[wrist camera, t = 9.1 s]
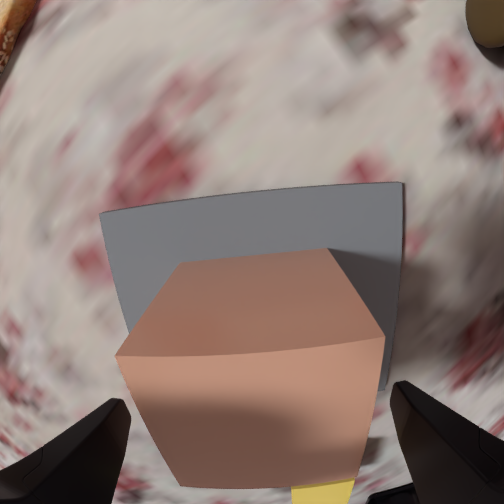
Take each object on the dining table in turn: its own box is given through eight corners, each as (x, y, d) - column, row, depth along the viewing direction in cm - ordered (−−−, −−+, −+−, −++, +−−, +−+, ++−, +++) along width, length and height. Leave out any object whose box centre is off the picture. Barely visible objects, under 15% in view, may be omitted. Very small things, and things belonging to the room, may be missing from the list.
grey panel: (397, 181, 13) (401, 182, 12) (382, 385, 16) (384, 390, 16) (103, 212, 14) (99, 213, 13) (158, 401, 17) (156, 406, 17)
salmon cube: (326, 247, 13) (385, 336, 6) (327, 366, 15) (357, 476, 8) (180, 262, 14) (114, 355, 7) (205, 375, 16) (180, 485, 9)
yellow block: (344, 436, 18) (354, 480, 14) (340, 464, 19) (347, 503, 15) (288, 444, 18) (291, 489, 14) (290, 470, 19) (292, 510, 16)
